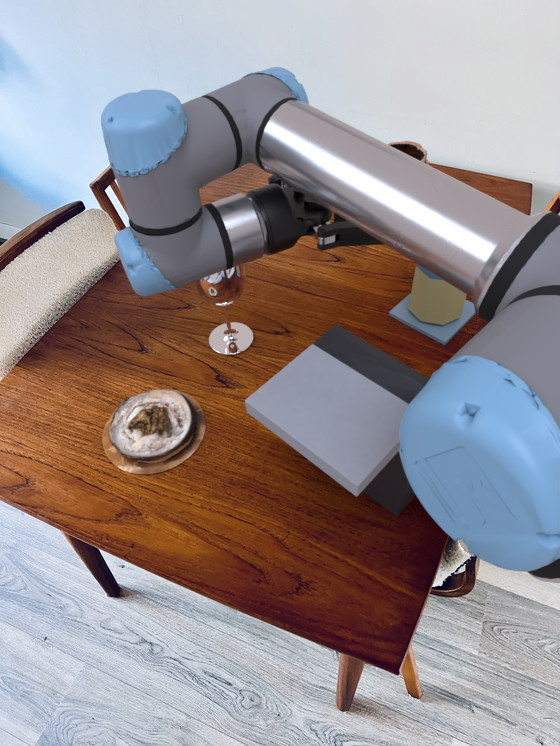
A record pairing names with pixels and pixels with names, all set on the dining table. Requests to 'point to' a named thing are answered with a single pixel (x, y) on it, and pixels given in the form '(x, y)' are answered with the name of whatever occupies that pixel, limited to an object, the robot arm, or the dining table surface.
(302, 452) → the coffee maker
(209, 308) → the dining table surface
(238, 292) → the wineglass
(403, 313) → the plate
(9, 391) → the dining table surface
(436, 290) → the jar
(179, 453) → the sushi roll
